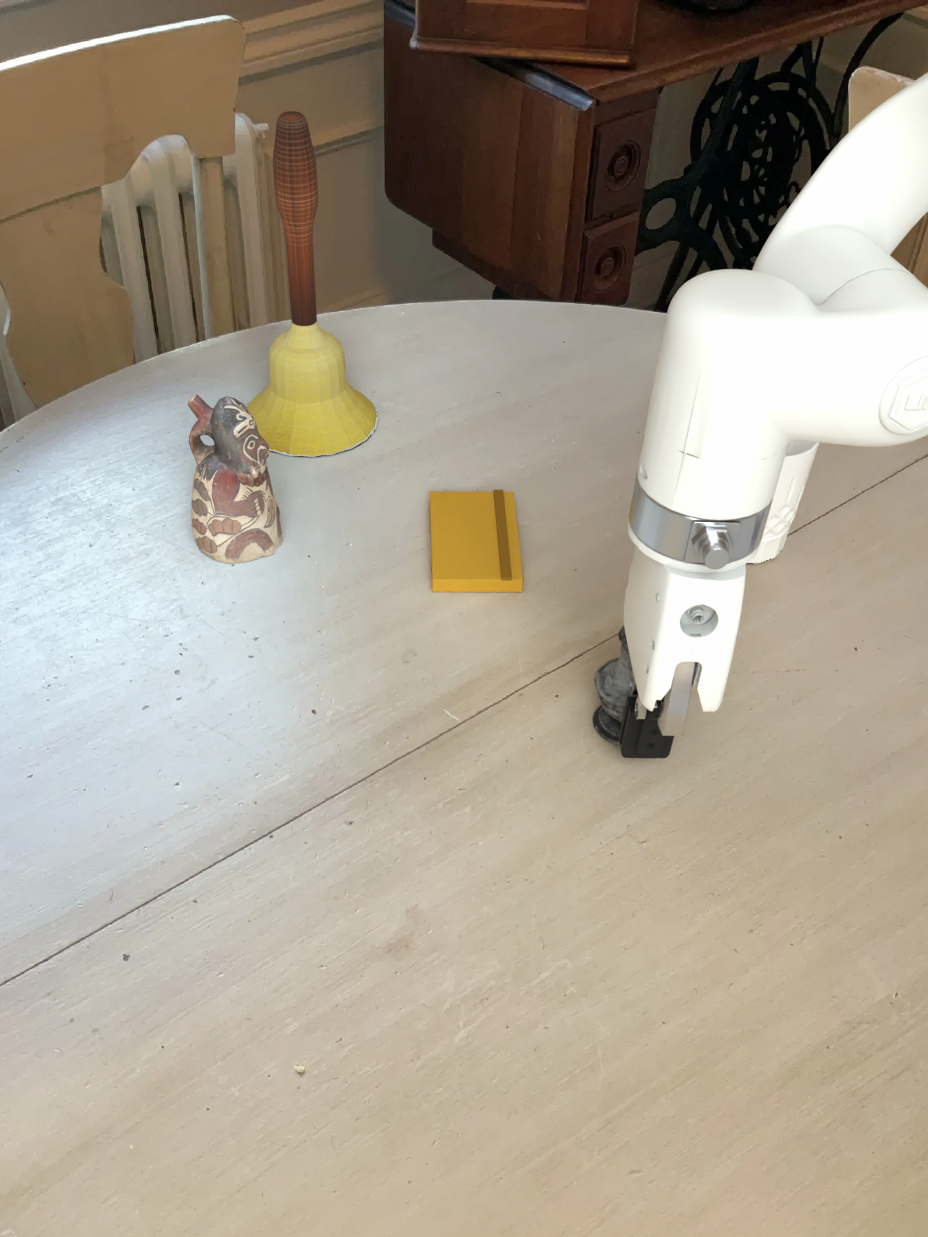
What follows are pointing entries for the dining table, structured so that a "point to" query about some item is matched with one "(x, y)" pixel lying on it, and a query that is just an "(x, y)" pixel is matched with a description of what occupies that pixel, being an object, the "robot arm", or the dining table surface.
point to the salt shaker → (613, 692)
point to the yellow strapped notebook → (474, 542)
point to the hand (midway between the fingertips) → (643, 749)
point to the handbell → (305, 325)
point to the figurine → (231, 485)
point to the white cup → (786, 498)
